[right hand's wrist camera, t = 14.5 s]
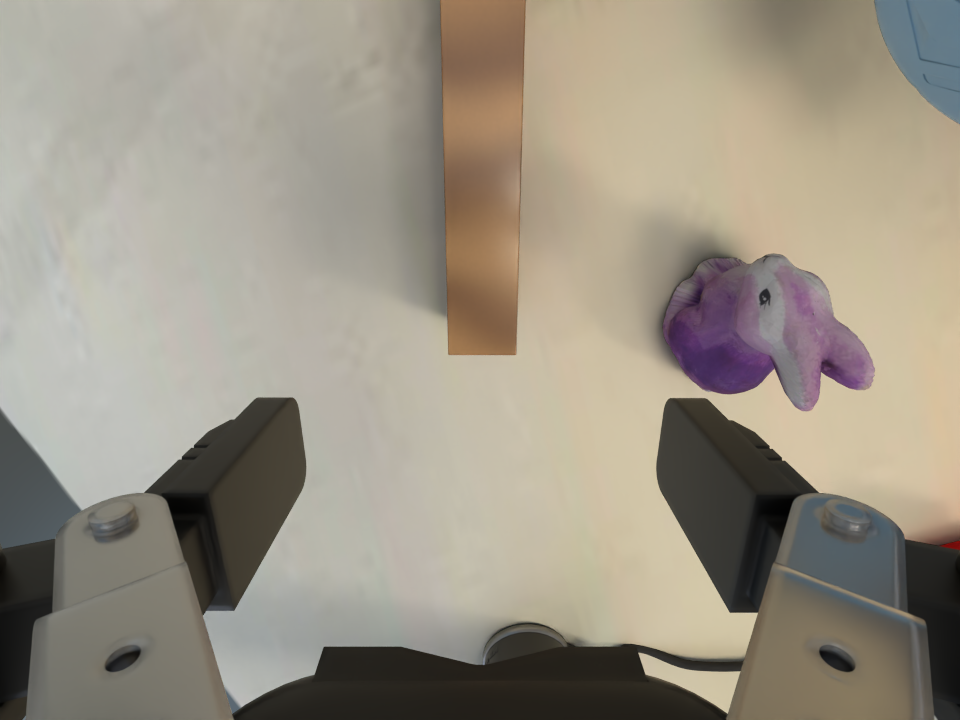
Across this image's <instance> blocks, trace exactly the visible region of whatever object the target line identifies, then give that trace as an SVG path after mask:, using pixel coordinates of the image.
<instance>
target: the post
mask: <svg viewBox="0 0 960 720" xmlns="http://www.w3.org/2000/svg"><path fill="white" fill-rule="evenodd" d="M525 1H526V0H440V16H441V59H442V102H443V145H444V188H445V231H446V274H447V318H448V354H449V355H516V342H517V305H518V267H519V229H520V191H521V153H522V115H523V77H524V39H525Z"/></svg>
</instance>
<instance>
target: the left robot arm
mask: <svg viewBox="0 0 960 720" xmlns="http://www.w3.org/2000/svg"><path fill="white" fill-rule="evenodd" d="M874 2H875V8H876V14H877V19H878V23H879V27H880V30H881V33H882V36H883V38H884V41H885V43H886V46H887V48H888V50H889V52H890V54H891V56H892V58H893V59H894V61H895V63H896V64H897V66H898V68H899V69H900V70H901V72H902V73H903V74H904V76H905V77H906V78H907V80H908V81H909V82H910V83H911V84H912V85H913V86H914V87H915V88H916V89H917V90H918V92H919V93H920V94H921V95H922V96H923V97H924V98H925V99H926V100H927V101H928V102H929V103H930V104H931V105H933V106H934V107H935V108H936V109H937V110H939V111H940V112H942V113H943V114H944V115H946V116H947V117H949V118H950V119H952V120H954V121H955V122H957V123H959V124H960V0H874Z"/></svg>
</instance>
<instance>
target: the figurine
mask: <svg viewBox="0 0 960 720" xmlns="http://www.w3.org/2000/svg"><path fill="white" fill-rule="evenodd" d="M662 328H663V334H664V338H665V340H666V342H667V343H668V344H669V346H670V347H671V350H672V352H673V353H674V355H675V356H676V358H677V360H678V362H679V364H680V366H681V368H682V369H683V371H684V372H685V374H686V375H687V376H688V377H689V378H690V379H691V380H692V381H693V382H695V383H696V384H697V385H698V386H699V387H700V388H702V389H703V390H705V391H708V392H710V391H713V392H716V393H721V394H736V393H741V392H745V391H748V390H750V389H753V388H755V387H757V386H758V385H759V384H760V383H761V382H762V381H763V380H764V379H765V378H766V377H767V375H768V374H769V373H770V372H771V371H772V370H773V369H774V368H775V370H776V373H777V375H778V377H779V380H780V382H781V385H782V387H783V389H784V392H785V393H786V395H787V396H788V398H789V399H790V400H791V402H792V403H793V405H794V406H795V407H796V408H798V409H800V410H801V411H810V410H812V408H813V407H814V406H815V404H816V402H817V400H818V398H819V393H820V377H821V372H822V373H823V374H825V375H826V376H828V377H830V378H832V379H834V380H835V381H836V382H838V383H840V384H842V385H844V386H846V387H848V388H850V389H855V390H866V389H868V388H870V386H871V383H872V382H873V377H874V376H875V375H874V372H875V368H874V366H873V362H872V359H871V357H870V355H869V353H868V351H867V349H866V348H865V346H864V344H863V343H862V342H861V341H860V340H859V338H858V337H857V336H856V335H855V334H854V333H853V332H852V331H851V330H850V329H849V328H848V327H846V326H845V325H843V324H841V323H840V322H838V321H837V320H836V319H835V317H834V315H833V309H832V304H831V300H830V295H829V292H828V289H827V287H826V285H825V284H824V283H823V281H822V280H821V279H820V278H819V277H818V276H816V275H815V274H813V273H811V272H807V271H804V270H801V269H798V268H797V267H795V266H794V265H793V264H792V263H791V262H790V261H789V260H788V259H787V258H786V257H784V256H783V255H780V254H768V255H765V256H764V257H762V258H760V259H757V260H756V261H755V262H753V263H752V264H746V263H745V262H742V260H741V259H737V258H729V259H728V258H725V259H724V258H722V259H721V258H719V259H718V258H712V259H708V260H705V261H703V262H701V263H700V264H699V265H698V267H697V269H696V270H695V271H694V274H693V275H692V277H690V278H689V279H686V280H684V281H683V282H681V284H680V285H679V286H678V287H677V288H676V290H675V292H674V294H673V296H672V299H671V301H670V304H669V306H668V308H667V311H666V315H665V318H664V322H663V327H662Z"/></svg>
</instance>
